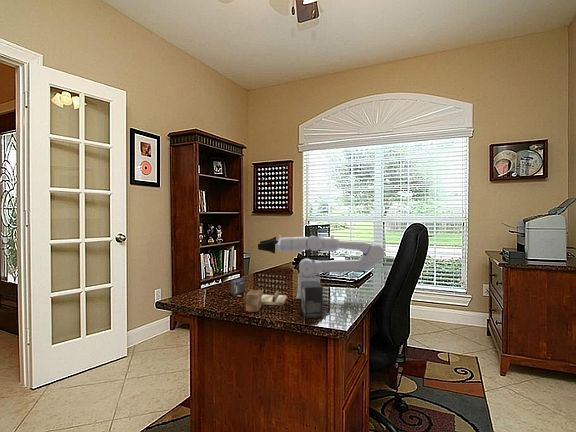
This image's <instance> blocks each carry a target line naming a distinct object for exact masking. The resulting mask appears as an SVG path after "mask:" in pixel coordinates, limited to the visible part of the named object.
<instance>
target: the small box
mask: <svg viewBox="0 0 576 432" xmlns="http://www.w3.org/2000/svg"><path fill="white" fill-rule="evenodd" d="M323 295H324V286H323V285H322V284H321V282H320V283H319V282H318V281H301V299H300V301H301V302H300V303H301V304H300V305H301V311H302V314H303V316H304V318H305V319H323V318H324V309H323V308H324V305H323V304H324V296H323Z"/></svg>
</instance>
